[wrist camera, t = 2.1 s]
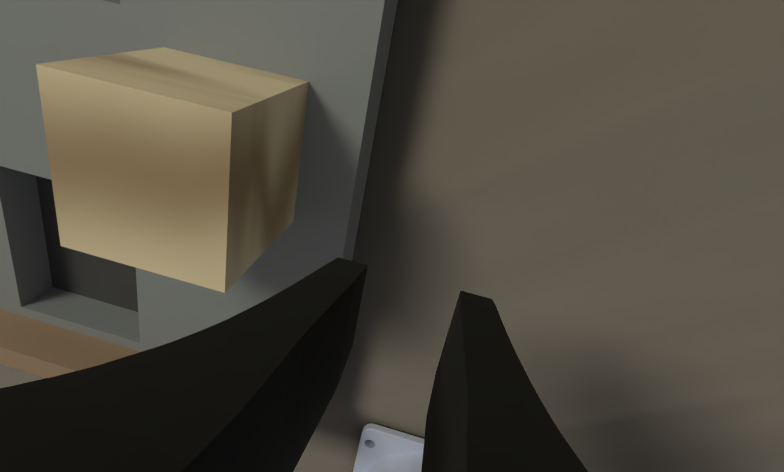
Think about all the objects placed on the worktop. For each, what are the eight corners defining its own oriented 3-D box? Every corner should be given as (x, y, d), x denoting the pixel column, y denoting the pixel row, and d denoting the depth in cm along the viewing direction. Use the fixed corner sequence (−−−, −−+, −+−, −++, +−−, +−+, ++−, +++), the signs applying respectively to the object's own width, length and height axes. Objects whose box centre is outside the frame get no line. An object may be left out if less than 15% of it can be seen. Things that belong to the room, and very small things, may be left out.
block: (293, 221, 18) (224, 293, 14) (167, 187, 18) (60, 245, 14) (308, 81, 16) (231, 112, 11) (163, 47, 16) (35, 64, 12)
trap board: (329, 390, 24) (289, 479, 19) (-102, 260, 26) (-226, 313, 22) (446, -280, 13) (417, -427, 9) (-309, -399, 15) (-639, -562, 11)
